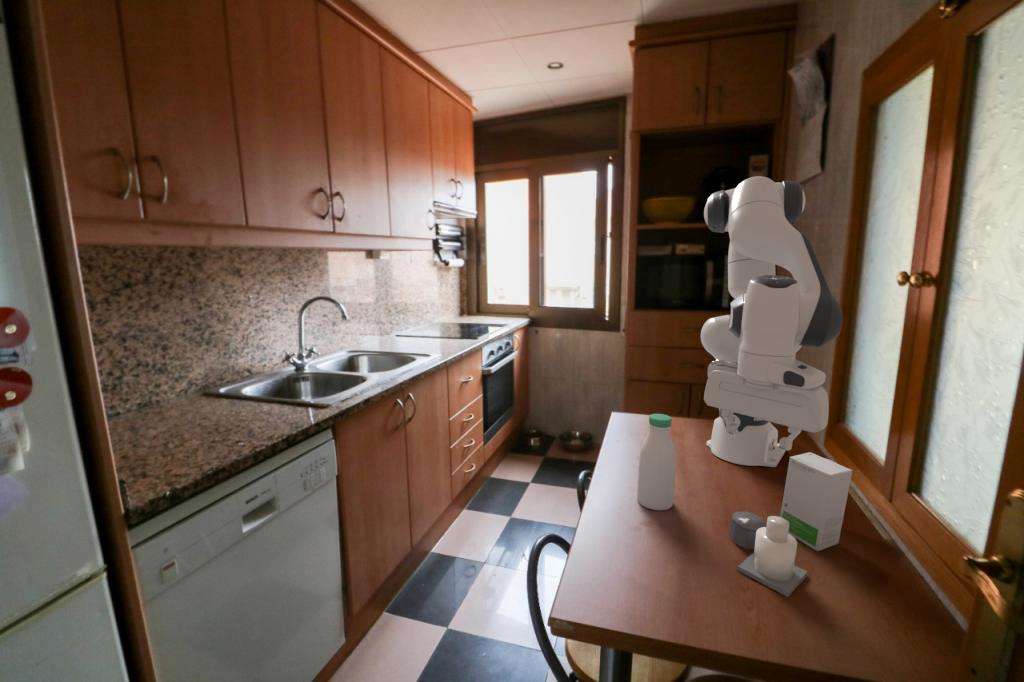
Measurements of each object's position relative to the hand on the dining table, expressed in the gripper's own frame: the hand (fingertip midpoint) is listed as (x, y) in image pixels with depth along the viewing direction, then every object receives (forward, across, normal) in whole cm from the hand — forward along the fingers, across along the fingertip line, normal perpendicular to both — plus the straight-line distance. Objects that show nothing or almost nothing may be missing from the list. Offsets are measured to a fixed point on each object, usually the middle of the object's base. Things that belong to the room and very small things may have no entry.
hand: (757, 440), depth 82 cm
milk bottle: (+20, -19, -2) cm, 28 cm away
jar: (+20, +7, -6) cm, 22 cm away
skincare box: (+21, +7, +11) cm, 24 cm away
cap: (+20, 0, 0) cm, 20 cm away
